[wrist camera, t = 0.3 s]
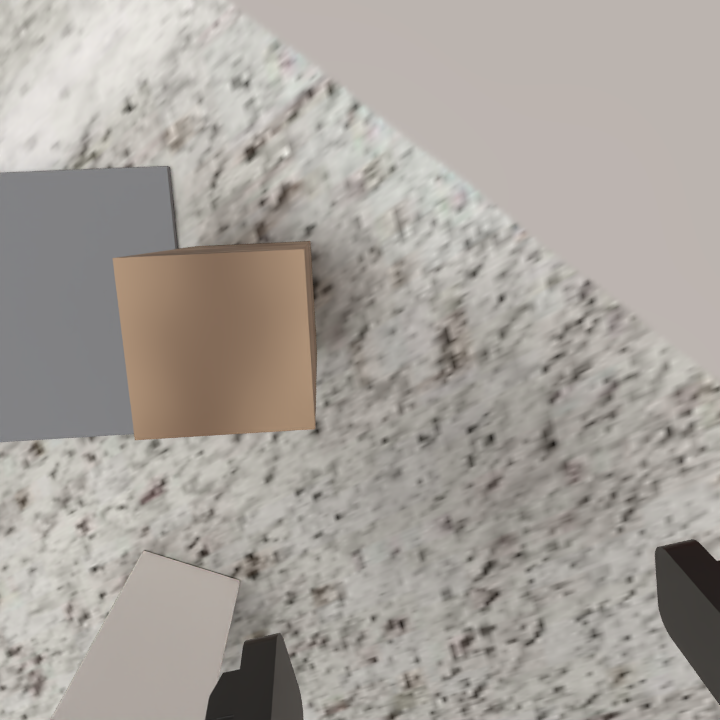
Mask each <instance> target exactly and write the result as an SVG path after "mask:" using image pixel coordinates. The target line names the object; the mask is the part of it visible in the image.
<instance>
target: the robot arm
mask: <svg viewBox="0 0 720 720" xmlns="http://www.w3.org/2000/svg"><path fill="white" fill-rule="evenodd" d="M655 563H656V579H657V594H658V607H659V611H660V615H661V618H662V621H663V623H664V626H665V628H666V630H667V632H668V634H669V635H670V637H671V638H672V640H673V641H674V642H675V644H676V645H677V647H678V648H679V649H680V651H681V652H682V653H683V655H684V656H685V658H686V659H687V660H688V662H689V663H690V665H691V666H692V667H693V669H694V670H695V671H696V673H697V674H698V676H699V677H700V678H701V680H702V681H703V682H704V684H705V685H706V687H707V688H708V689H709V691H710V692H711V694H712V695H713V696H714V698H715V699H716V700H717V702H718V703H719V705H720V561H716V560H715V559H714V558H713V557H712V556H711V555H710V553H709V552H708V551H707V550H706V549H705V548H704V547H703V546H702V545H701V544H700V543H699V542H697V541H696V540H692V539H691V540H687V541H683V542H678V543H674V544H669V545H665V546H660V547H657V548H656V551H655ZM205 720H303V707H302V700H301V694H300V690H299V686H298V683H297V680H296V677H295V674H294V670H293V667H292V664H291V661H290V658H289V655H288V652H287V649H286V645H285V642H284V639H283V637H282V635H281V634H280V633H277V634H273V635H268V636H264V637H260V638H255V639H251V640H246V641H245V642H244V645H243V651H242V658H241V666H240V669H239V670H235V671H230V672H226V673H223V674H222V676H221V677H220V679H219V681H218V682H217V684H216V686H215V687H214V689H213V691H212V692H211V694H210V696H209V700H208V706H207V711H206V716H205Z"/></svg>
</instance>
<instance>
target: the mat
mask: <svg viewBox="0 0 720 720" xmlns="http://www.w3.org/2000/svg"><path fill="white" fill-rule="evenodd" d="M174 249H178V245H177V235H176V225H175V216H174V206H173V196H172V186H171V176H170V167H168V166H158V167H133V168H108V169H83V170H58V171H32V172H7V173H0V442H10V441H26V440H43V439H59V438H76V437H92V436H108V435H125V434H134V429H133V420H132V412H131V404H130V396H129V388H128V380H127V372H126V364H125V356H124V347H123V339H122V331H121V323H120V315H119V307H118V299H117V291H116V283H115V274H114V266H113V258H117V257H124V256H131V255H138V254H145V253H153V252H160V251H167V250H174Z"/></svg>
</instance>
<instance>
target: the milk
mask: <svg viewBox="0 0 720 720" xmlns="http://www.w3.org/2000/svg"><path fill="white" fill-rule="evenodd" d="M239 584H240V581H239V580H237V579H234V578H230V577H227V576H224V575H221V574H218V573H214V572H211V571H208V570H205V569H202V568H198V567H195V566H192V565H189V564H186V563H182V562H179V561H176V560H173V559H170V558H166V557H163V556H160V555H157V554H154V553H150V552H147V551H143V552H142V554H141V555H140V557H139V559H138V561H137V563H136V564H135V566H134V568H133V570H132V572H131V574H130V575H129V577H128V579H127V581H126V583H125V585H124V586H123V588H122V590H121V592H120V594H119V595H118V597H117V599H116V601H115V603H114V605H113V606H112V608H111V610H110V612H109V614H108V615H107V617H106V619H105V621H104V623H103V625H102V626H101V628H100V630H99V632H98V634H97V635H96V637H95V639H94V641H93V643H92V645H91V646H90V648H89V650H88V652H87V654H86V656H85V657H84V659H83V661H82V663H81V665H80V666H79V668H78V670H77V672H76V674H75V676H74V677H73V679H72V681H71V683H70V685H69V686H68V688H67V690H66V692H65V694H64V696H63V697H62V699H61V701H60V703H59V705H58V706H57V708H56V710H55V712H54V714H53V716H52V717H51V719H50V720H205V716H206V711H207V706H208V700H209V696H210V694H211V692H212V691H213V689H214V687H215V686H216V684H217V682H218V678H219V673H220V669H221V664H222V660H223V655H224V651H225V647H226V642H227V638H228V633H229V629H230V624H231V620H232V616H233V611H234V607H235V602H236V598H237V593H238V589H239Z"/></svg>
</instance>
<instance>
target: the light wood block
mask: <svg viewBox="0 0 720 720" xmlns="http://www.w3.org/2000/svg"><path fill="white" fill-rule="evenodd" d="M113 266H114V274H115V283H116V291H117V299H118V307H119V315H120V323H121V331H122V339H123V347H124V356H125V364H126V372H127V380H128V388H129V396H130V404H131V412H132V420H133V429H134V437H135V440H145V439H162V438H178V437H194V436H210V435H226V434H243V433H259V432H275V431H291V430H308V429H315V413H316V371H317V345H316V328H315V311H314V294H313V278H312V261H311V244H310V241H302V242H280V243H259V244H237V245H216V246H195V247H188V248H181V249H174V250H167V251H160V252H153V253H145V254H138V255H131V256H124V257H117V258H113Z"/></svg>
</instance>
